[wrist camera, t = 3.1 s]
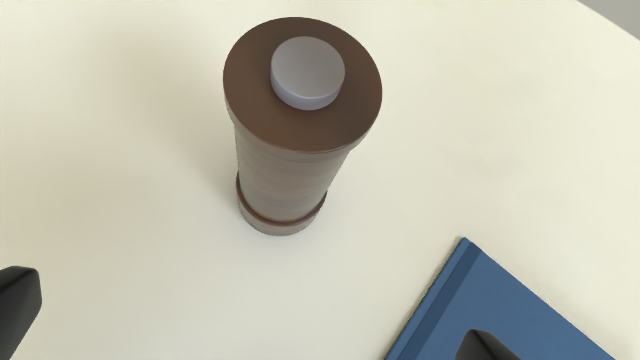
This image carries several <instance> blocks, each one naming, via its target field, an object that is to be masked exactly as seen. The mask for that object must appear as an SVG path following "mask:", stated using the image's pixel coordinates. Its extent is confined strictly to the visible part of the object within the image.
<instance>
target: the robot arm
mask: <svg viewBox="0 0 640 360" xmlns="http://www.w3.org/2000/svg"><path fill="white" fill-rule="evenodd" d="M41 304H42V296H41V288H40V280H39V274H38V272H37V270H36V269H34V268H28V267H21V266H10V267H7V268H5V269H2V270H0V360H10V358H11V357H12V355H13V353H14V352H15V350H16V349H17V347H18V345H19V344H20V342H21V341H22V339H23V337H24V336H25V334H26V332H27V331H28V329H29V328H30V326H31V324H32V323H33V321H34V320H35V318H36V316H37V315H38V313H39V311H40V308H41ZM455 360H522V359H521V358H520V357H518V356H517V355H516V354H515V353H514V352H513V351H511V350H510V349H509V348H508V347H507V346H506V345H504V344H503V343H502V342H501V341H500V340H499V339H497V338H496V337H495V336H494V335H493V334H492V333H490V332H489V331H486V330H481V329H473V328H472V329H469V330H468V331H467V332H466V334H465V336H464V338H463V340H462V342H461V344H460V346H459V348H458V350H457V352H456V355H455Z"/></svg>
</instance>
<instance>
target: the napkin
mask: <svg viewBox="0 0 640 360" xmlns="http://www.w3.org/2000/svg"><path fill="white" fill-rule="evenodd" d="M472 328H473V329H481V330H486V331H489V332H490V333H492V334H493V335H494V336H495V337H496V338H497V339H499V340H500V341H501V342H502V343H503V344H504V345H506V346H507V347H508V348H509V349H510V350H511V351H513V352H514V353H515V354H516V355H517V356H518V357H520V358H521V359H522V360H615V359H614V358H612V357H611V356H610V355H609V354H608V353H606V352H605V351H604V350H603V349H601V348H600V347H599V346H598V345H597V344H595V343H594V342H593V341H592V340H590V339H589V338H588V337H587V336H586V335H584V334H583V333H582V332H581V331H579V330H578V329H577V328H576V327H575V326H573V325H572V324H571V323H570V322H568V321H567V320H566V319H565V318H563V317H562V316H561V315H560V314H559V313H557V312H556V311H555V310H554V309H552V308H551V307H550V306H549V305H548V304H546V303H545V302H544V301H543V300H541V299H540V298H539V297H538V296H537V295H535V294H534V293H533V292H532V291H530V290H529V289H528V288H527V287H526V286H524V285H523V284H522V283H521V282H519V281H518V280H517V279H516V278H514V277H513V276H512V275H511V274H510V273H508V272H507V271H506V270H505V269H503V268H502V267H501V266H500V265H499V264H497V263H496V262H495V261H494V260H492V259H491V258H490V257H489V256H488V255H486V254H485V253H484V252H483V251H482V250H481V249H480V248H479V247H477V246H476V245H475V244H474V243H472V242H470V241H469V240H468V239H467V238H465V237H464V238H462V239H461V241H460V243H459V244H458V246H457V247H456V249H455V250H454V252H453V253H452V255H451V257H450V258H449V260H448V261H447V263H446V264H445V266H444V267H443V269H442V271H441V272H440V274H439V275H438V277H437V278H436V280H435V281H434V283H433V284H432V286H431V288H430V289H429V291H428V292H427V294H426V295H425V297H424V298H423V300H422V302H421V303H420V305H419V306H418V308H417V309H416V311H415V312H414V314H413V315H412V317H411V319H410V320H409V322H408V323H407V325H406V326H405V328H404V329H403V331H402V333H401V334H400V336H399V337H398V339H397V340H396V342H395V343H394V345H393V347H392V348H391V350H390V351H389V353H388V354H387V356H386V357H385V359H384V360H455V355H456V352H457V350H458V348H459V346H460V344H461V342H462V340H463V338H464V336H465V334H466V332H467V331H468V330H469V329H472Z"/></svg>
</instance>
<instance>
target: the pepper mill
mask: <svg viewBox="0 0 640 360" xmlns="http://www.w3.org/2000/svg"><path fill="white" fill-rule="evenodd" d="M223 87H224V95H225V102H226V106H227V110H228V113H229V115H230V118H231V120H232V121H233V123H234V129H235V140H236V150H237V160H238V172H237V177H236V190H237V198H238V204H239V208H240V210H241V213H242V215H243V216H244V218H245V219H246V220H247V222H248V223H249V224H250V225H251V226H253V227H254V228H255V229H257V230H259V231H260V232H263V233H265V234H268V235H273V236H287V235H291V234H295V233H297V232H299V231H301V230H303V229H304V228H305V227H307V226H308V225H309V224H310V223H311V222H312V221H313V219H314V218H315V216H316V215H317V213H318V212H319V210H320V208H321V207H322V205H323V203H324V201H325V198H326V195H327V189H328V187H329V186H330V184H331V182H332V181H333V179H334V177H335V175H336V174H337V172H338V170H339V169H340V167H341V165H342V164H343V162H344V160H345V158H346V157H347V155H348V153H349V152H350V151H351V150H352V149H353V148H355V147H356V146H357V145H358V144H359V143H360V142H361V141H362V140H363V138H364V137H365V136H366V135H367V133H368V131H369V130H370V128H371V127H372V125H373V123H374V121H375V120H376V118H377V116H378V113H379V110H380V107H381V102H382V83H381V79H380V75H379V72H378V69H377V67H376V64H375V63H374V61H373V59H372V57H371V56H370V54H369V53H368V52H367V50H366V49H365V48H364V47H363V46H362V45H361V44H360V43H359V42H358V41H357V40H356V39H355V38H353V37H352V36H351V35H349V34H348V33H346V32H345V31H343V30H341V29H340V28H338V27H336V26H334V25H331V24H329V23H326V22H323V21H320V20H316V19H311V18H303V17H287V18H279V19H274V20H270V21H267V22H265V23H262V24H260V25H258V26H256V27H254V28H252V29H251V30H249V31H248V32H246V33H245V34H244V35H243V36H242V37H241V38H240V39H239V40H238V41H237V42H236V43H235V45H234V46H233V48H232V49H231V51H230V53H229V54H228V57H227V59H226V62H225V66H224V70H223Z"/></svg>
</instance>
